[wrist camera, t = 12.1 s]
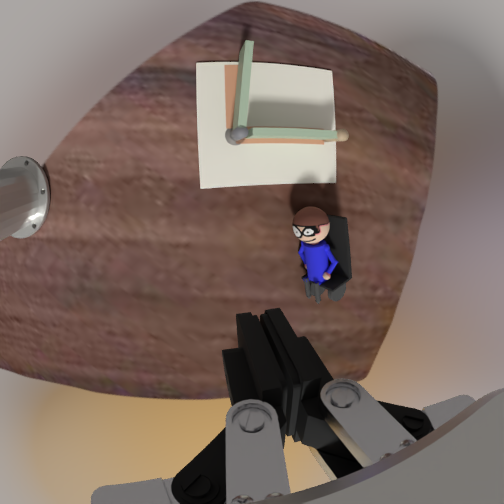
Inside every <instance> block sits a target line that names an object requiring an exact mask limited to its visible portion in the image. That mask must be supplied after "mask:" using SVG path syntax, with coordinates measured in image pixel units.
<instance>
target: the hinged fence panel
mask: <svg viewBox="0 0 504 504" xmlns="http://www.w3.org/2000/svg"><path fill="white" fill-rule="evenodd" d="M253 44H254V41H248V40H246V41H245V43H244V45H243V47H242V49H241V51H240V53H239V63H238V73H237V83H236V94H235V105H234V117H233V129H232V131H231V132H230V138H231V139H232V140H233V141H238V140H240V139H243V138H245V137H246V136H247V135H248V129H247V127H246V125H247V113H248V100H249V89H250V77H251V66H252V55H253Z"/></svg>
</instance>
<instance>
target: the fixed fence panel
mask: <svg viewBox="0 0 504 504" xmlns="http://www.w3.org/2000/svg"><path fill="white" fill-rule="evenodd" d="M348 137H349V135H348V132H347V131H346V130H345V129H340V130H333V131H331V130H318V129H300V128H251V129H249V130H248V135H247V136H246V137H245V139H251V138H286V139H315V140H323V141H324V142H335V141H346V140H347V139H348Z"/></svg>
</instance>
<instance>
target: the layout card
mask: <svg viewBox="0 0 504 504" xmlns="http://www.w3.org/2000/svg"><path fill="white" fill-rule="evenodd" d="M238 63H239V62H204V63H196V89H197V129H198V152H199V172H200V188H201V189H205V188H217V187H231V186H247V185H266V184H293V183H336V141H335V142H324V141H323V140H315V139H286V138H251V139H245V138H243V139H240V140H238V141H233V140H232V139H231V138H230V132H231V131H232V129H233V117H234V105H235V94H236V83H237V73H238ZM246 127H247V129H248V130H249V129H251V128H300V129H318V130H331V131H333V130H335V108H334V92H333V78H332V71H329V70H324V69H317V68H310V67H303V66H294V65H285V64H273V63H256V62H252V66H251V77H250V89H249V100H248V113H247V125H246Z"/></svg>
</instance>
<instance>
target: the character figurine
mask: <svg viewBox="0 0 504 504" xmlns="http://www.w3.org/2000/svg"><path fill="white" fill-rule="evenodd" d="M293 231H294V233H295V235H296V236H297V237H298V238H299V239H300V240H301V247H300V250H299V252H298V253H299V254H300V256H301V258H302V260H303V262H304V264H305V268H306V269H307V274H306V275H304V276H302V279H303V280H304V283H305V290H306V296H307V297H308V298H309V299H310V297H311V295H313V296H315V298H316V300H315V301H316V302H317V303H318V304H319V302H320V301H321V297H320V295H321V294H322V293H323V292H324V291H325V289H327V290H328V297H329V298H330V299H331V300H333V301H338V300H340V299H341V298H342V297H343V295H344V293H345V290H346V282H348V281H349V280H350V279H351V278H352V272H351V257H350V245H349V234H348V224H347V218H346V217H340V216H333V215H327V214H326V213H325V212H324V211H322V210H321V209H319V208H317V207H305V208H303V209H301V210H300V211H298V212H297V213H296V215H295V217H294V219H293Z"/></svg>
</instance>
